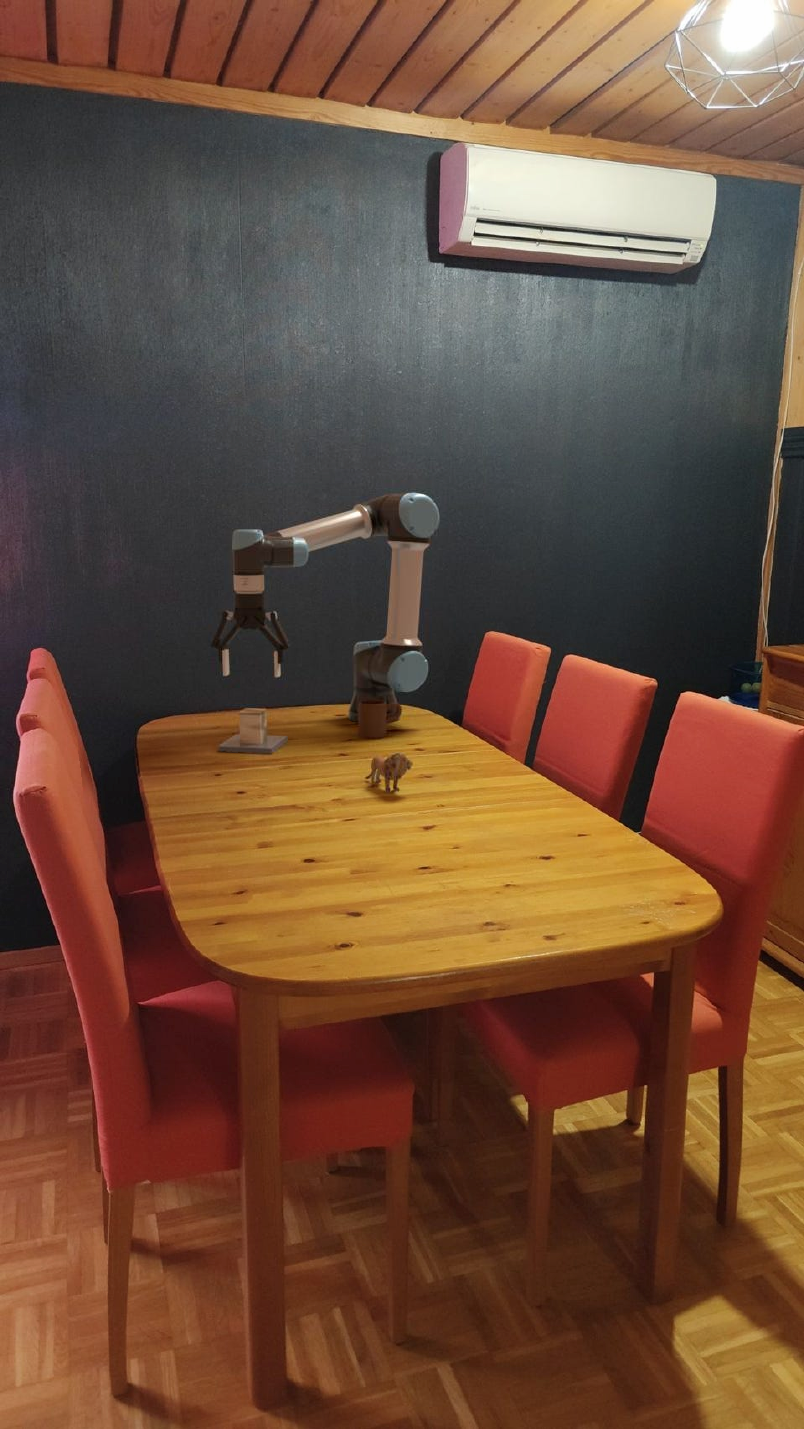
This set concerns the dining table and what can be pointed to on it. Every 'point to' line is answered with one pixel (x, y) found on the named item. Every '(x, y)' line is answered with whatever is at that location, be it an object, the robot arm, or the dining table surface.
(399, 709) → the mug
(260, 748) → the slate board
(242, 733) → the oak block
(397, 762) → the lion figurine
